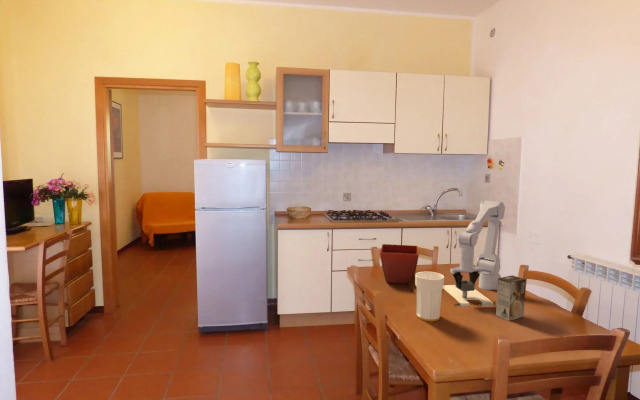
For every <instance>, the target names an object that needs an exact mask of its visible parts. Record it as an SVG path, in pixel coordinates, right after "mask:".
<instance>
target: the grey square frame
mask: <svg viewBox="0 0 640 400" xmlns="http://www.w3.org/2000/svg"><path fill="white" fill-rule="evenodd" d="M455 285H456V284H455ZM475 285H476V283H475V284H474V283H472V282H470V280H468V279H464V280H463V279H462V282H461V289H460V290H461V291H474V289H475ZM456 288H457V285H456Z"/></svg>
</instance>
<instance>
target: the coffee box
mask: <svg viewBox="0 0 640 400" xmlns="http://www.w3.org/2000/svg"><path fill="white" fill-rule="evenodd" d="M526 280H527V279H526V278H523V277H520V276H516V275H508V276H503V277H501V278H498V290H496V291H497V294H496V311H495V314H496V315H495V316H496V317H499V318H502V319H503V320H506V321H509V322H511V321H513V320H517V319H521V318H524V316H525V299H526V297H525V296H526Z"/></svg>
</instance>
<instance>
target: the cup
mask: <svg viewBox="0 0 640 400" xmlns="http://www.w3.org/2000/svg"><path fill="white" fill-rule="evenodd" d="M414 278H415V279H414V285H415V287H416V310H415V311H416V312H415V313H416V317H417V319H420V320H422V321H424V322H437V321H440V318H441V317H440V316H441V305H442V294H443V290H444V289H443V287H444V284H445V276H444V275H443V274H441V273H439V272H435V271H429V270H428V271H427V270H426V271H418V272H415V275H414Z"/></svg>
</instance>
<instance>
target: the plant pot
mask: <svg viewBox="0 0 640 400" xmlns="http://www.w3.org/2000/svg"><path fill="white" fill-rule="evenodd" d="M419 252H420V251H419V246H418V245H410V244H409V245H408V244H407V245H406V244H405V245H404V244H390V243H389V244H388V243H382V244H381V249H380V251H379V254H380V261H381V267H382V271H383V275H384V280H385V282H386V283H392V284H393V283H394V284H405V285H406V284H407V285H409V283H411V282H413V280H414V278H415V275H416V270H417V267H418V262H419V255H420V253H419Z"/></svg>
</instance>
